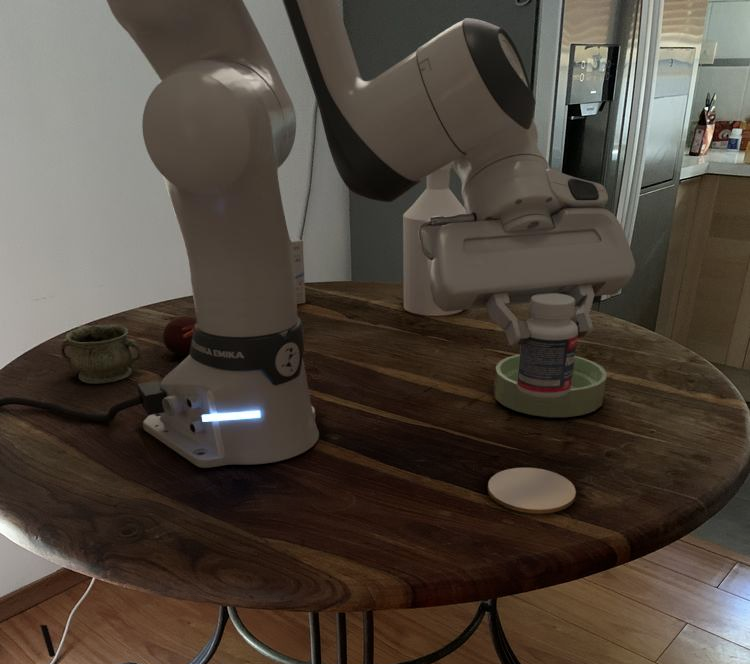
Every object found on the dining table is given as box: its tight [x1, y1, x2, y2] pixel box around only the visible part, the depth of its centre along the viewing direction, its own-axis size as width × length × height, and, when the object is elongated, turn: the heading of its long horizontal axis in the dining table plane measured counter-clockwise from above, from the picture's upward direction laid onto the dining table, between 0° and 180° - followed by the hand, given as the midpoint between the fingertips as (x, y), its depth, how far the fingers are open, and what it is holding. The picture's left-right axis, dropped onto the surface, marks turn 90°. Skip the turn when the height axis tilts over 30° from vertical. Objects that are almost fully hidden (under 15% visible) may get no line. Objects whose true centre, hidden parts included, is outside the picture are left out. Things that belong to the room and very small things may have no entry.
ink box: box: [289, 235, 306, 305], centre depth 137 cm, size 9×5×12 cm, turn 117°
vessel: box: [59, 324, 143, 385], centre depth 106 cm, size 12×9×6 cm
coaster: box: [487, 467, 577, 515], centre depth 76 cm, size 9×9×1 cm
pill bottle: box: [517, 293, 578, 398], centre depth 70 cm, size 5×5×9 cm
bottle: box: [402, 162, 466, 317], centre depth 131 cm, size 12×12×25 cm
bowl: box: [493, 353, 608, 418], centre depth 97 cm, size 14×14×4 cm
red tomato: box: [162, 315, 197, 358], centre depth 113 cm, size 8×9×6 cm
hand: (552, 338), depth 69 cm, fingers closed on pill bottle, 5 cm apart
